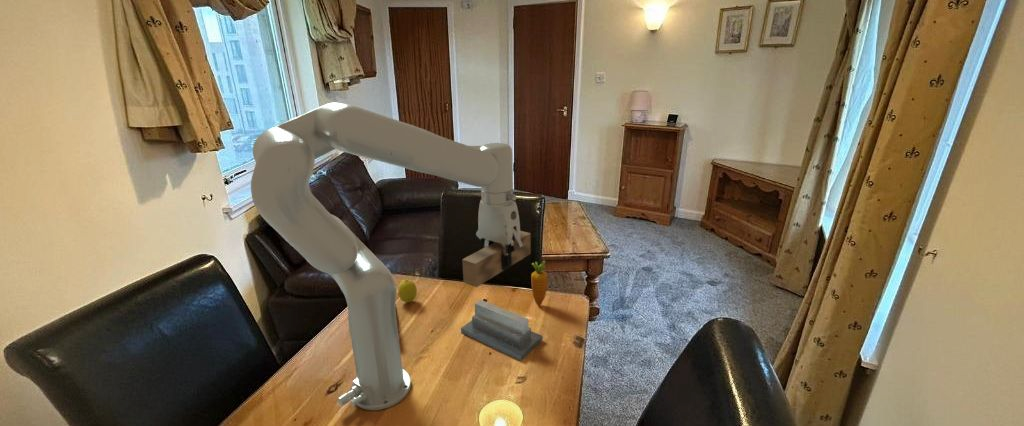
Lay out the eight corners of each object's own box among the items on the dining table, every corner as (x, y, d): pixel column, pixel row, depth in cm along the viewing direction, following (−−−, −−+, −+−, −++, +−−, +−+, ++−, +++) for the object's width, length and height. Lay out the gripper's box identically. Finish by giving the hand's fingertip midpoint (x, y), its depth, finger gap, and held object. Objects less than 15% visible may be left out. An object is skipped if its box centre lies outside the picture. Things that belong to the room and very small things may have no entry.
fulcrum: (520, 361, 100) (520, 333, 98) (461, 332, 111) (459, 307, 109) (542, 340, 108) (542, 314, 105) (484, 315, 119) (483, 291, 116)
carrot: (528, 308, 123) (529, 263, 118) (532, 300, 127) (533, 256, 122) (545, 311, 121) (546, 265, 116) (548, 302, 126) (549, 258, 121)
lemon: (421, 301, 127) (419, 278, 124) (408, 309, 123) (406, 285, 120) (408, 296, 130) (406, 273, 127) (395, 304, 125) (393, 281, 123)
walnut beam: (518, 250, 112) (518, 230, 110) (530, 253, 110) (530, 233, 108) (463, 282, 95) (462, 259, 93) (476, 287, 93) (475, 263, 91)
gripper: (535, 198, 94) (535, 268, 100) (480, 187, 104) (483, 252, 110) (516, 206, 89) (517, 280, 95) (460, 194, 98) (464, 262, 104)
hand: (499, 264), depth 102 cm, fingers closed on walnut beam, 4 cm apart
